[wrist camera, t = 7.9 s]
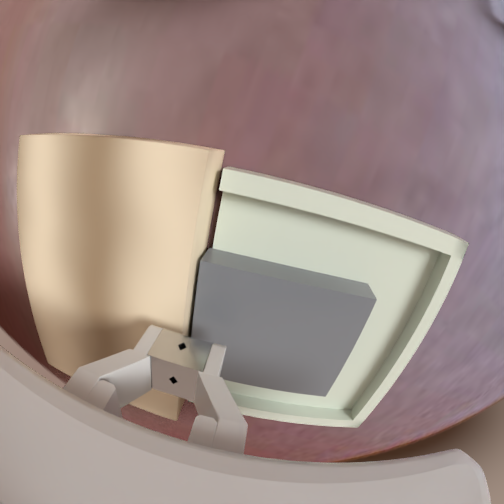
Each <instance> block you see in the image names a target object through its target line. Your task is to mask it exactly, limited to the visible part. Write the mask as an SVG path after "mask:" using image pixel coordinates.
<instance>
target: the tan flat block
mask: <svg viewBox="0 0 504 504" xmlns="http://www.w3.org/2000/svg"><path fill="white" fill-rule="evenodd" d="M224 153H225V150H220V149H215V148H209V147H203V146H197V145H191V144H184V143H178V142H170V141H163V140H155V139H146V138H137V137H126V136H114V135H99V134H79V133H44V134H30V135H20V140H19V151H18V166H17V214H18V229H19V240H20V249H21V257H22V264H23V270H24V276H25V281H26V287H27V291H28V296H29V301H30V305H31V309H32V313H33V317H34V321H35V324H36V328H37V331H38V335H39V338H40V341H41V344H42V347H43V350H44V353H45V356H46V359H47V361H48V364H50V365H52V366H53V367H55V368H57V369H58V370H60V371H62V372H64V373H65V374H67V375H69V376H71V377H72V376H73V374H74V373H75V372H76V371H77V369H78V368H79V367H81V366H84V365H87V364H89V363H92V362H95V361H98V360H101V359H103V358H106V357H109V356H111V355H114V354H117V353H119V352H122V351H125V350H127V349H132V350H133V349H134V348H135V346H136V345H137V343H138V342H139V340H140V339H141V337H142V336H143V334H144V333H145V331H146V330H147V329H148V327H149V326H150V325H154V326H157V327H160V328H163V329H167V330H170V331H173V332H176V333H179V334H182V335H185V336H189V337H191V334H192V325H193V316H194V307H195V298H196V290H197V282H198V274H199V267H200V260H201V259H202V257H203V256H204V255H205V253H206V249H207V243H208V237H209V231H210V225H211V220H212V214H213V209H214V203H215V198H216V193H217V188H218V182H219V177H220V172H221V167H222V163H223V158H224ZM184 400H185V399H184V398H181V397H178V396H175V395H172V394H168V393H165V392H162V391H159V390H155V389H152V390H150V391H148V392H147V393H145V394H144V395H142V396H140V397H139V398H137V399H135V400H134V401H132V402H130V403H129V404H130V405H133V406H135V407H138V408H141V409H143V410H146V411H149V412H151V413H154V414H157V415H160V416H163V417H166V418H169V419H172V420H175V421H177V419H178V416H179V414H180V411H181V408H182V405H183V403H184Z"/></svg>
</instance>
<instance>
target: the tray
mask: <svg viewBox="0 0 504 504" xmlns="http://www.w3.org/2000/svg"><path fill="white" fill-rule="evenodd" d="M219 190H220V191H223V194H222V199H221V204H220V209H219V215H218V220H217V225H216V231H215V236H214V242H213V249H218V250H222V251H226V252H231V253H235V254H240V255H244V256H248V257H253V258H257V259H261V260H266V261H270V262H275V263H279V264H283V265H288V266H292V267H297V268H301V269H305V270H310V271H314V272H319V273H323V274H328V275H332V276H337V277H341V278H345V279H350V280H354V281H359V282H363V283H368V285H369V286H370V288H371V290H372V292H373V293H374V295H375V297H376V299H377V301H376V303H375V305H374V307H373V309H372V312H371V314H370V316H369V318H368V320H367V322H366V324H365V326H364V328H363V330H362V332H361V334H360V336H359V338H358V340H357V342H356V344H355V346H354V348H353V350H352V352H351V354H350V356H349V357H348V359H347V361H346V363H345V365H344V366H343V368H342V370H341V372H340V373H339V375H338V377H337V379H336V380H335V382H334V384H333V385H332V387H331V389H330V390H329V392H328V394H327V395H326V397H323V396H314V395H306V394H298V393H291V392H285V391H278V390H272V389H267V388H261V387H256V386H251V385H246V384H241V383H236V382H232V381H228V380H224V382H225V384H226V386H227V388H228V389H229V391H230V393H231V395H232V397H233V399H234V401H235V403H236V405H237V406H238V408H239V410H240V412H241V414H242V415H247V416H253V417H258V418H264V419H270V420H276V421H283V422H291V423H299V424H309V425H320V426H334V427H359V426H360V425H361V423H362V422H363V421H364V420H365V419H366V418H367V416H368V415H369V414H370V413H371V412H372V410H373V409H374V408H375V407H376V406H377V404H378V403H379V402H380V401H381V399H382V398H383V397H384V395H385V394H386V393H387V392H388V390H389V389H390V388H391V386H392V385H393V384H394V382H395V381H396V379H397V378H398V377H399V375H400V374H401V372H402V371H403V369H404V368H405V366H406V365H407V364H408V362H409V361H410V359H411V357H412V356H413V354H414V353H415V351H416V350H417V348H418V346H419V345H420V343H421V342H422V340H423V338H424V337H425V335H426V333H427V331H428V330H429V328H430V326H431V324H432V323H433V321H434V319H435V317H436V315H437V313H438V312H439V310H440V308H441V306H442V304H443V302H444V300H445V298H446V296H447V294H448V292H449V290H450V287H451V285H452V283H453V281H454V279H455V276H456V274H457V272H458V269H459V267H460V265H461V262H462V260H463V257H464V255H465V252H466V250H467V247H468V244H469V243H468V242H466V241H464V240H463V239H461V238H460V237H458V236H456V235H454V234H452V233H450V232H447V231H445V230H442V229H440V228H437V227H435V226H432V225H430V224H427V223H424V222H422V221H419V220H416V219H414V218H411V217H408V216H405V215H403V214H400V213H397V212H394V211H391V210H388V209H385V208H382V207H379V206H376V205H373V204H370V203H367V202H364V201H361V200H358V199H354V198H351V197H348V196H345V195H341V194H338V193H335V192H331V191H328V190H324V189H321V188H317V187H313V186H310V185H306V184H302V183H298V182H294V181H291V180H287V179H283V178H278V177H274V176H270V175H266V174H262V173H257V172H253V171H248V170H244V169H239V168H234V167H226V168H223V172H222V177H221V182H220V187H219ZM188 401H189V402H193V401H190V400H188ZM193 403H194V402H193Z"/></svg>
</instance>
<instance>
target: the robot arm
mask: <svg viewBox="0 0 504 504" xmlns="http://www.w3.org/2000/svg"><path fill="white" fill-rule="evenodd" d="M225 352H226V346H224V345H220V344H216V343H211V342H207V341H203V340H199V339H196V338H192V337H189V336H185V335H182V334H179V333H176V332H173V331H170V330H167V329H163V328H160V327H157V326H154V325H150V326H149V327H148V329H147V330H146V331H145V333H144V334H143V336H142V337H141V339H140V340H139V342H138V343H137V345H136V346H135V348H134V349H133V350H132V349H127V350H125V351H122V352H119V353H117V354H114V355H111V356H109V357H106V358H103V359H101V360H98V361H95V362H92V363H89V364H87V365H84V366H81V367H79V368H78V369H77V371H76V372H75V373H74V374H73V376H72V377H71V378H70V379H69V381H68V382H67V383H66V385H65V386H64V387H63V389H62V388H61V387H59V386H57V385H56V384H54V383H52V382H51V381H49V380H47V379H46V378H45V377H43V376H41V375H40V374H38V373H37V372H35V371H34V370H32V369H31V368H30V367H28V366H27V365H25V364H24V363H22V362H21V361H20V360H18V359H17V358H16V357H14V356H13V355H12V354H10V353H9V352H8V351H7V350H5V349H4V348H3V347H2V346H0V504H491V500H490V494H489V490H488V486H487V482H486V479H485V475H484V473H483V470H482V468H481V467H480V465H479V464H477V463H476V462H475V461H474V460H473V459H472V458H471V457H469V456H468V455H467V454H466V453H464V452H463V451H462V450H460V449H452V450H447V451H443V452H438V453H433V454H428V455H423V456H417V457H410V458H403V459H396V460H386V461H374V462H354V463H321V462H301V461H289V460H279V459H270V458H263V457H256V456H250V455H244V447H245V441H246V434H247V427H248V424H247V423H246V421H245V419H244V417H243V415H242V414H241V412H240V410H239V408H238V406H237V405H236V403H235V401H234V399H233V397H232V395H231V393H230V391H229V389H228V388H227V386H226V384H225V382H224V380H223V378H222V377H220V374H221V370H222V365H223V361H224V356H225ZM152 389H155V390H159V391H162V392H165V393H168V394H172V395H175V396H178V397H181V398H184V399H187V400H190V401H193V402H194V404H195V407H196V410H197V413H198V415H199V416H197V417H196V418H195V421H194V424H193V427H192V430H191V433H190V436H189V439H188V442H187V441H184V440H180V439H177V438H174V437H171V436H168V435H165V434H162V433H159V432H156V431H153V430H150V429H147V428H145V427H142V426H139V425H137V424H134V423H132V422H129V421H127V420H125V419H123V417H122V413H121V409H120V408H122V407H124V406H125V405H127V404H129V403H130V402H132V401H134V400H135V399H137V398H139V397H140V396H142V395H144V394H145V393H147V392H148V391H150V390H152Z"/></svg>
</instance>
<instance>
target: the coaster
mask: <svg viewBox="0 0 504 504" xmlns="http://www.w3.org/2000/svg"><path fill="white" fill-rule="evenodd" d="M376 301H377V299H376V297H375V295H374V293H373V292H372V290H371V288H370V286H369V285H368V283H363V282H359V281H354V280H350V279H345V278H341V277H337V276H332V275H328V274H323V273H319V272H314V271H310V270H305V269H301V268H297V267H292V266H288V265H283V264H279V263H275V262H270V261H266V260H261V259H257V258H253V257H248V256H244V255H240V254H235V253H231V252H226V251H222V250H218V249H213V248H209V249H208V250H207V252H206V253H205V255H204V256H203V257H202V259H201V260H200V267H199V274H198V282H197V290H196V298H195V307H194V316H193V325H192V334H191V337H192V338H196V339H199V340H203V341H207V342H211V343H216V344H220V345H224V346H226V352H225V356H224V361H223V365H222V370H221V374H220V377H222V378H223V380H228V381H232V382H236V383H241V384H246V385H251V386H256V387H261V388H267V389H272V390H278V391H285V392H291V393H298V394H306V395H314V396H323V397H326V395H327V394H328V392H329V390H330V389H331V387H332V385H333V384H334V382H335V380H336V379H337V377H338V375H339V373H340V372H341V370H342V368H343V366H344V365H345V363H346V361H347V359H348V357H349V356H350V354H351V352H352V350H353V348H354V346H355V344H356V342H357V340H358V338H359V336H360V334H361V332H362V330H363V328H364V326H365V324H366V322H367V320H368V318H369V316H370V314H371V312H372V309H373V307H374V305H375V303H376Z"/></svg>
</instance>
